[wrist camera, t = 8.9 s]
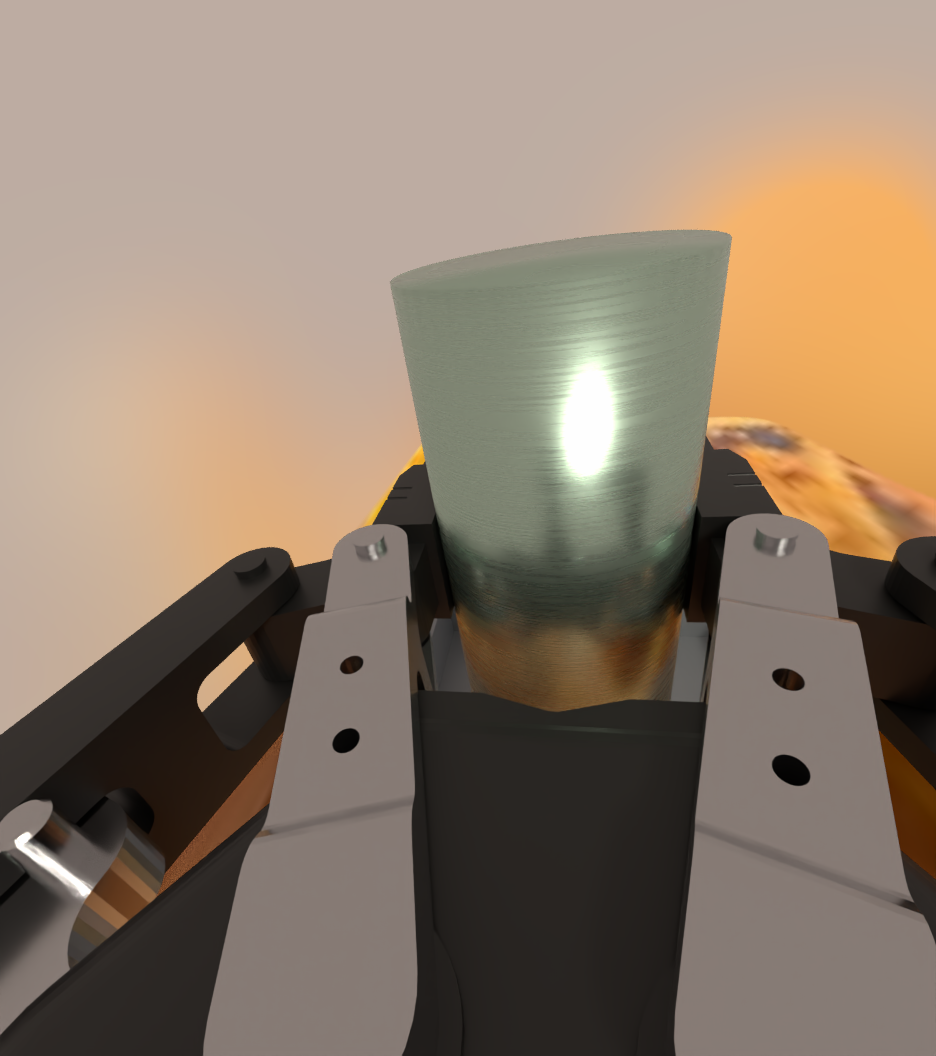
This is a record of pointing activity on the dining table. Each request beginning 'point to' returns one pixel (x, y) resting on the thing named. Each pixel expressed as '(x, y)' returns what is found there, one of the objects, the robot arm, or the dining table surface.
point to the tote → (685, 676)
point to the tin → (567, 452)
